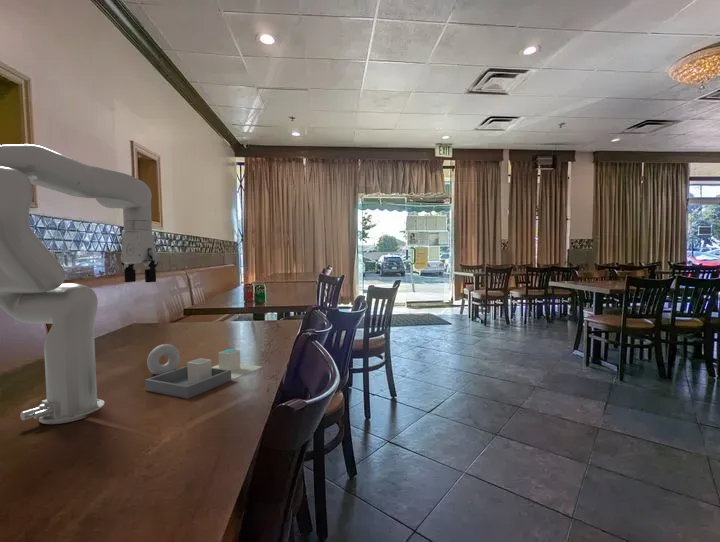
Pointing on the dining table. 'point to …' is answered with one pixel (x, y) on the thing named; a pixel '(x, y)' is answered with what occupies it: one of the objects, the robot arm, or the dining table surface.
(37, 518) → the dining table surface
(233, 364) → the teal label box
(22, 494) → the dining table surface
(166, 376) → the parts bin
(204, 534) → the dining table surface
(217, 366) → the sage board
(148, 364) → the donut
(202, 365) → the grey label box
